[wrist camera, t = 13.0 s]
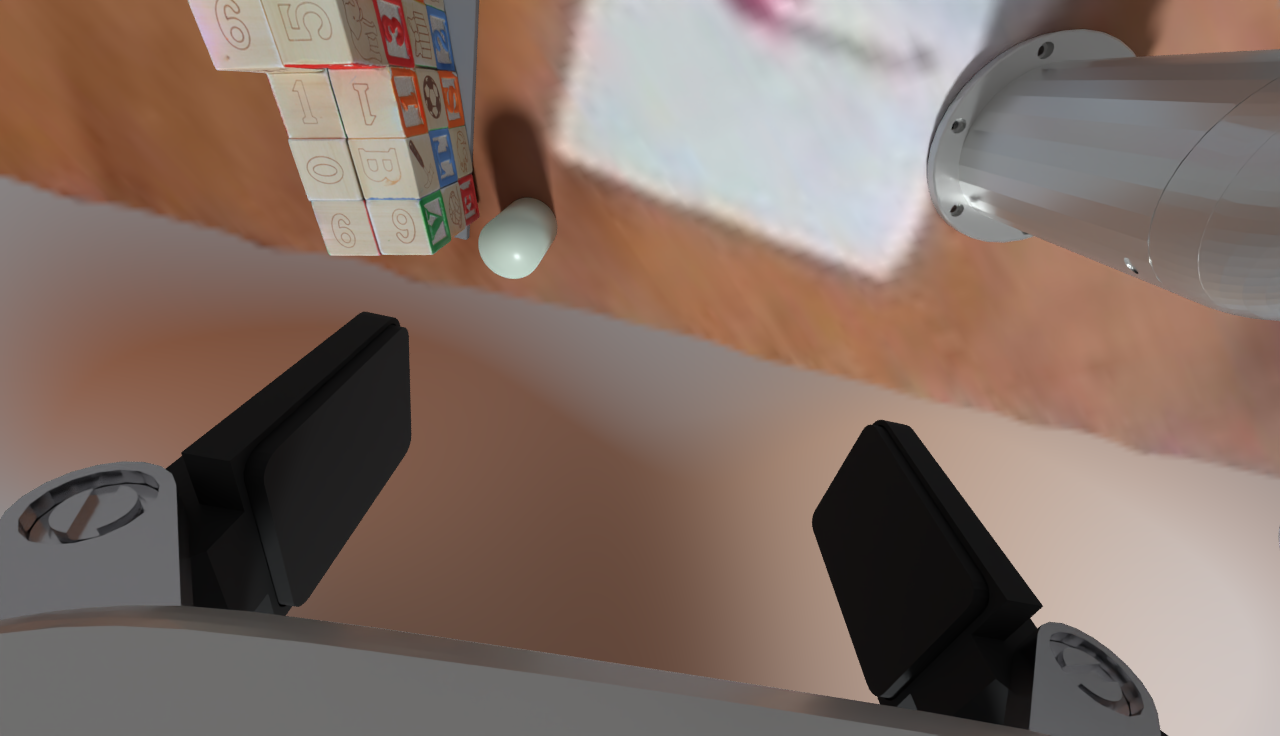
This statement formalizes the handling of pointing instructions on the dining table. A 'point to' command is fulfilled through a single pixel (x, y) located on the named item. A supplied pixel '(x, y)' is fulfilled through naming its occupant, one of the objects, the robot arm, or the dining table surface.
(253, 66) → the stack of blocks
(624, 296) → the dining table surface
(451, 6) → the mat
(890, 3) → the dining table surface
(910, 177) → the dining table surface
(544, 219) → the mint green capsule
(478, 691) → the robot arm
